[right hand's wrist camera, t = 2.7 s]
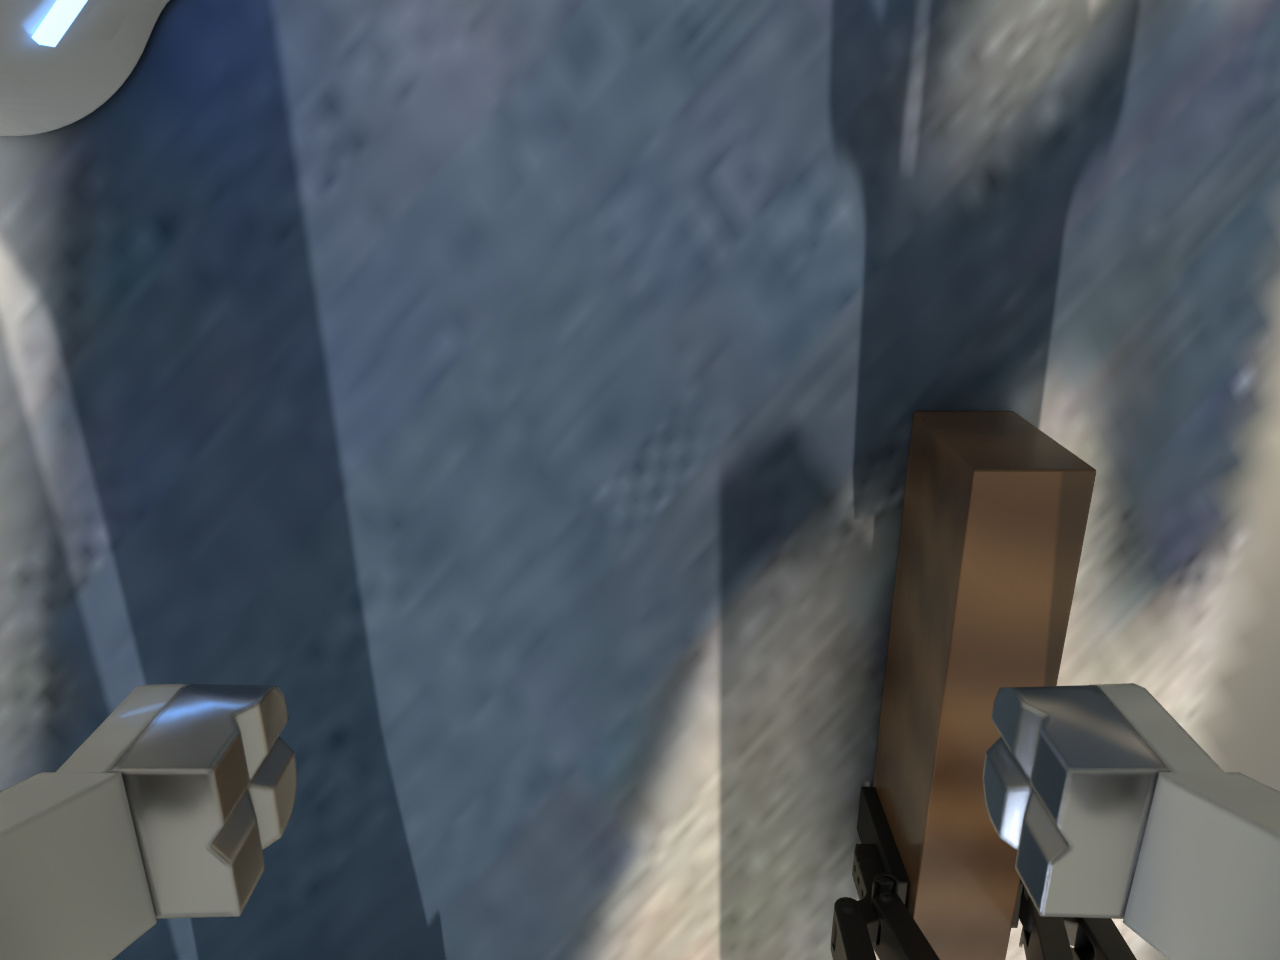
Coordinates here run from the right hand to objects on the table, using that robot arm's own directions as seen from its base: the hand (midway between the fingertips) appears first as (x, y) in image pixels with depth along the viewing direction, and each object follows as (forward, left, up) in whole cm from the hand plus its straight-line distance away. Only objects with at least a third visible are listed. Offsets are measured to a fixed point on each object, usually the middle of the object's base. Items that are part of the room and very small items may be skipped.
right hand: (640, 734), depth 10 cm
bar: (+17, +15, -30) cm, 38 cm away
